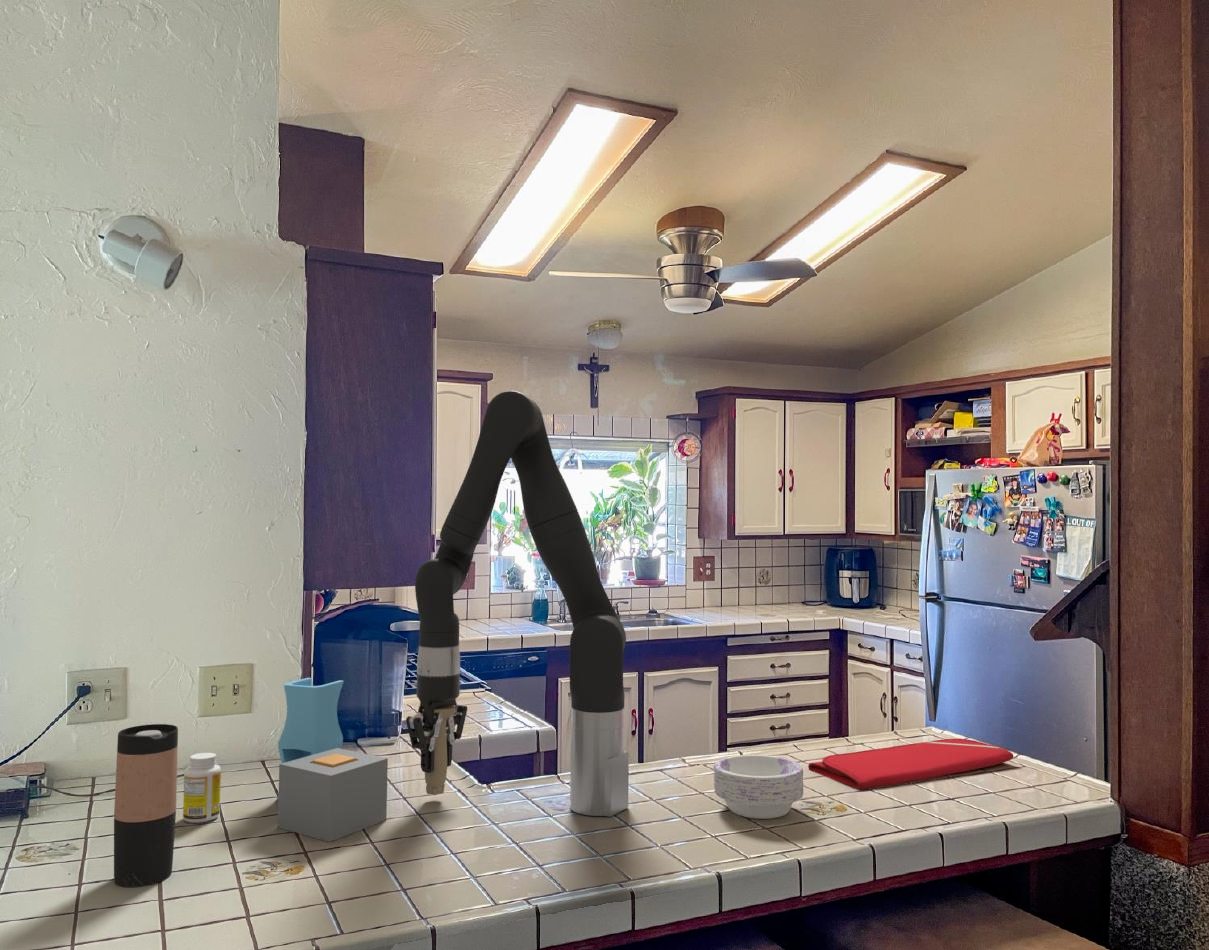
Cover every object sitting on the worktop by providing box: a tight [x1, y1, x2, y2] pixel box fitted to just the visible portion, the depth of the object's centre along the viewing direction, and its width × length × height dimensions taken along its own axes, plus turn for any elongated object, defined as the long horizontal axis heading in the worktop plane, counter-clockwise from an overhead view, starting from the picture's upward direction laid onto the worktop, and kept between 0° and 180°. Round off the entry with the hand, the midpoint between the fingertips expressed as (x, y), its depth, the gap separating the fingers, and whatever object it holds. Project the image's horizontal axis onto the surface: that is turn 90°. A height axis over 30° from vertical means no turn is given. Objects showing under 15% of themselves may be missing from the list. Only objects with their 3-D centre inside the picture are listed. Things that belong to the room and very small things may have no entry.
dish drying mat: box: [807, 738, 1014, 791], centre depth 181 cm, size 16×41×4 cm, turn 115°
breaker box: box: [277, 748, 389, 842], centre depth 145 cm, size 12×12×10 cm
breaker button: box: [313, 754, 356, 768], centre depth 145 cm, size 5×5×4 cm
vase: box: [276, 677, 344, 800], centre depth 160 cm, size 8×8×20 cm
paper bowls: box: [713, 754, 804, 820], centre depth 153 cm, size 15×15×8 cm
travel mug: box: [113, 723, 179, 888], centre depth 123 cm, size 8×8×20 cm
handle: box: [424, 705, 455, 796], centre depth 157 cm, size 5×6×15 cm
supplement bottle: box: [182, 752, 222, 824], centre depth 147 cm, size 6×6×10 cm
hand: (436, 768), depth 157 cm, fingers closed on handle, 4 cm apart
